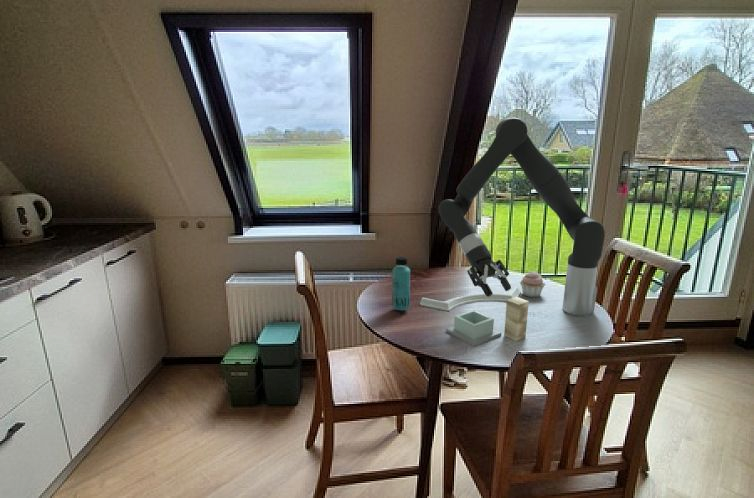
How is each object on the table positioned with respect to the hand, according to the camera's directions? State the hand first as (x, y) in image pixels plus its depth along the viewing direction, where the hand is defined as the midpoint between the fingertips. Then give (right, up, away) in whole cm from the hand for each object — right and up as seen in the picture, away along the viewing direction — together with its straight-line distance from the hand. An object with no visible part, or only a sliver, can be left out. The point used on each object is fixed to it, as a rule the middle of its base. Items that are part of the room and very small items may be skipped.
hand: (499, 292), depth 130 cm
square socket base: (-8, -13, 0) cm, 15 cm away
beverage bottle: (-30, -9, +17) cm, 36 cm away
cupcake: (+21, -4, +30) cm, 37 cm away
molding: (-3, -6, +27) cm, 28 cm away
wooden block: (+4, -13, -2) cm, 14 cm away
